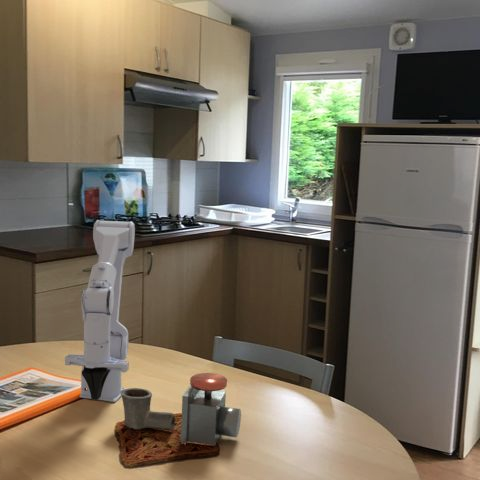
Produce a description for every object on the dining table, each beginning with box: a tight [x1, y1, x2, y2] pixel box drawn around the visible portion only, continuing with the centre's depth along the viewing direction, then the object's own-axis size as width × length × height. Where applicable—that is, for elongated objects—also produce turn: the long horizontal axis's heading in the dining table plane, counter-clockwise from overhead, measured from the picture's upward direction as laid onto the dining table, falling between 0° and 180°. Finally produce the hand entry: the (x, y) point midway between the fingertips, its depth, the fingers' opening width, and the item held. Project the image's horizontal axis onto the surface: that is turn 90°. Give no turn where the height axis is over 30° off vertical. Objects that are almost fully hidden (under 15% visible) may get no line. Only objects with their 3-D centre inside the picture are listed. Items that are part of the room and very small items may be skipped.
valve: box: [180, 372, 242, 445], centre depth 136 cm, size 12×11×13 cm
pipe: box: [120, 387, 176, 431], centre depth 139 cm, size 6×13×8 cm, turn 78°
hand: (96, 398), depth 141 cm, fingers closed
